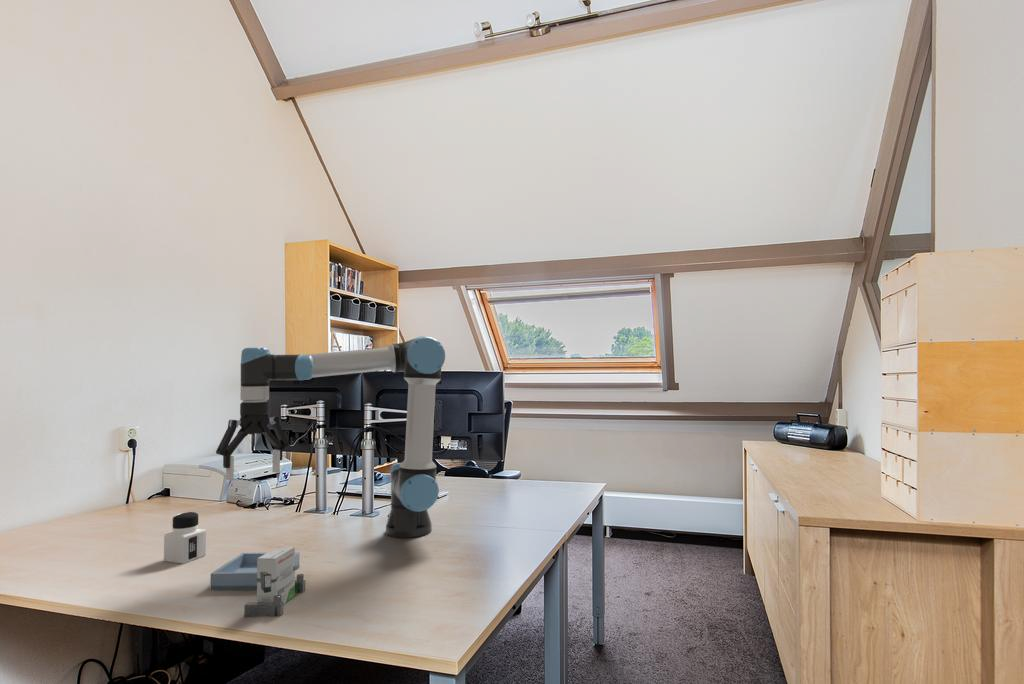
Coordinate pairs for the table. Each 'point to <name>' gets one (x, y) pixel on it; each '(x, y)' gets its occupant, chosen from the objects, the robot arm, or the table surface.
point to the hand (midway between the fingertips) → (253, 476)
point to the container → (185, 539)
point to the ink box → (276, 575)
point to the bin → (239, 573)
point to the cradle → (272, 607)
